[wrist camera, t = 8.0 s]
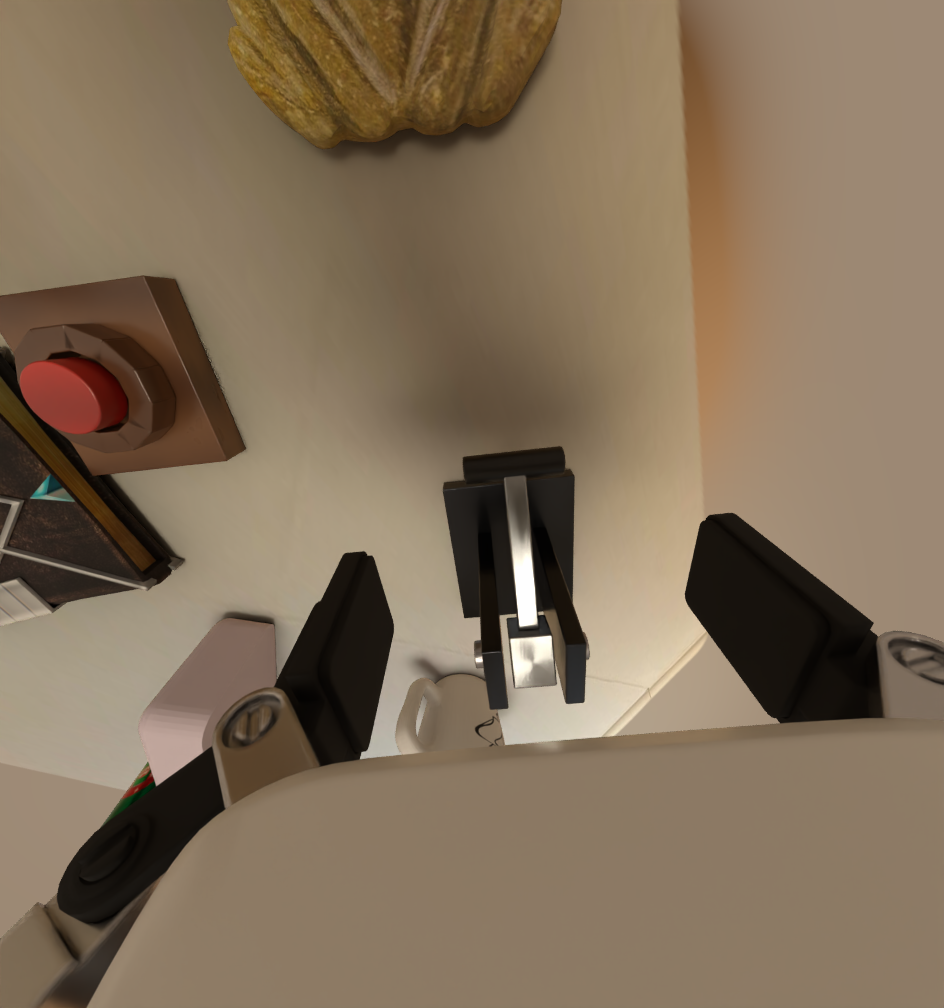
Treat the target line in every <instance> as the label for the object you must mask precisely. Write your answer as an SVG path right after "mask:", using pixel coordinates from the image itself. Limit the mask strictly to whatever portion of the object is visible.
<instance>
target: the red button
mask: <svg viewBox="0 0 944 1008" xmlns="http://www.w3.org/2000/svg"><path fill="white" fill-rule="evenodd" d="M20 388H21V392H22V394H23V397H24V399H25V400H26V402H27V404H28V405H29V406H30V408H31V409H32V410H33V411H34V412H35V413H36V414H37V415H38V416H39V417H40V418H41V419H42V420H43V421H45V422H46V423H48V424H49V425H51V426H53V427H54V428H56V429H58V430H61V431H63V432H67V433H71V434H87V433H91V432H94V431H97V430H100V429H103V428H106V427H110V426H113V425H116V424H118V423H120V422H121V421H122V420H123V419H124V417H125V416H126V414H127V410H128V401H127V397H126V394H125V392H124V390H123V388H122V386H121V385H120V383H119V382H118V380H117V379H116V378H115V377H114V376H113V375H112V374H111V373H110V372H109V371H107V370H106V369H105V368H103V367H102V366H101V365H99V364H97V363H95V362H93V361H90V360H87V359H84V358H79V357H68V358H59V359H51V360H42V361H35V362H32V363H30V364H28V365H27V366H26V367H25V368H24V369H23V370H22V372H21V375H20Z"/></svg>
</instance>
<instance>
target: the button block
mask: <svg viewBox="0 0 944 1008" xmlns="http://www.w3.org/2000/svg"><path fill="white" fill-rule="evenodd" d="M0 333H1V334H2V336H3V337H4V339H5V341H6V342H7V344H8V345H9V347H10V348H11V350H12V351H13V353H14V357H15V365H16V372H17V380H18V384H19V386H20V375H21V372H22V370H23V369H24V368H25V367H26V366H27V365H28V364H30V363H32V362H35V361H42V360H51V359H59V358H68V357H79V358H84V359H87V360H90V361H93V362H95V363H97V364H99V365H101V366H102V367H103V368H105V369H106V370H107V371H109V372H110V373H111V374H112V375H113V376H114V377H115V378H116V379H117V380H118V382H119V383H120V385H121V386H122V388H123V390H124V392H125V394H126V397H127V401H128V410H127V414H126V416H125V417H124V419H123V420H122V421H121V422H120V423H118V424H116V425H113V426H110V427H106V428H103V429H100V430H97V431H94V432H91V433H87V434H71V433H67V432H63V431H61V430H58V429H56V428H54V427H53V426H51V425H50V426H51V427H53V428H54V429H55V430H57V431H58V432H59V433H61V434H62V435H63V436H64V437H66V438H67V439H68V440H70V441H71V443H72V444H73V446H74V448H75V449H76V451H77V452H78V454H79V455H80V457H81V458H82V460H83V462H84V463H85V465H86V466H87V468H88V469H89V471H90V472H91V474H92V475H93V476H97V475H106V474H115V473H123V472H132V471H141V470H150V469H159V468H168V467H176V466H185V465H194V464H203V463H212V462H221V461H227V460H229V459H231V458H232V457H234V456H236V455H237V454H239V453H240V452H242V451H244V450H245V446H244V444H243V442H242V439H241V437H240V434H239V432H238V430H237V427H236V425H235V423H234V420H233V418H232V415H231V413H230V411H229V408H228V406H227V403H226V401H225V399H224V396H223V394H222V392H221V389H220V387H219V384H218V382H217V380H216V377H215V375H214V372H213V370H212V368H211V365H210V363H209V361H208V358H207V356H206V353H205V351H204V349H203V346H202V344H201V342H200V339H199V337H198V334H197V332H196V330H195V327H194V325H193V322H192V320H191V318H190V315H189V313H188V311H187V308H186V306H185V303H184V301H183V299H182V296H181V294H180V292H179V289H178V287H177V284H176V282H175V280H174V279H169V278H160V277H151V276H137V277H130V278H123V279H116V280H109V281H102V282H95V283H87V284H80V285H73V286H66V287H59V288H52V289H45V290H38V291H31V292H24V293H17V294H9V295H2V296H0Z"/></svg>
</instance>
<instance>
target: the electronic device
mask: <svg viewBox="0 0 944 1008" xmlns="http://www.w3.org/2000/svg"><path fill="white" fill-rule="evenodd" d="M275 683H276V652H275V628H274V625H273V624H267V623H260V622H254V621H247V620H241V619H234V618H227V619H223V620H221V621H219V622H218V623H216V624H215V625H214V626H213V627H212V629H211V630H210V631H209V632H208V633H207V635H206V636H205V637H204V638H203V639H202V641H201V642H200V643H199V644H198V646H197V647H196V648H195V649H194V650H193V652H192V653H191V654H190V655H189V657H188V658H187V659H186V660H185V661H184V663H183V664H182V665H181V666H180V668H179V669H178V670H177V671H176V672H175V674H174V675H173V676H172V677H171V678H170V680H169V681H168V682H167V683H166V685H165V686H164V687H163V688H162V689H161V691H160V692H159V693H158V694H157V696H156V697H155V698H154V699H153V700H152V702H151V703H150V704H149V705H148V706H147V708H146V709H145V711H144V712H143V714H142V716H141V718H140V721H139V726H138V731H139V735H140V738H141V741H142V744H143V747H144V750H145V753H146V756H147V759H148V762H149V765H150V768H151V771H152V774H153V777H154V780H155V783H156V786H157V785H159V784H160V783H162V782H163V781H164V780H166V779H167V778H168V777H170V776H171V775H173V774H174V773H175V772H177V771H178V770H179V769H181V768H182V767H184V766H185V765H186V764H188V763H189V762H190V761H192V760H193V759H195V758H196V757H197V756H199V755H200V754H201V753H203V752H204V751H206V750H207V749H208V748H210V747H211V746H212V735H213V732H214V730H215V727H216V725H217V723H218V722H219V720H220V719H221V717H222V716H223V714H224V713H225V712H226V711H227V710H228V709H229V708H230V707H231V706H232V705H233V704H234V703H235V702H237V701H238V700H239V699H241V698H242V697H243V696H245V695H247V694H249V693H251V692H253V691H255V690H258V689H262V688H265V687H274V685H275Z"/></svg>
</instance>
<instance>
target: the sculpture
mask: <svg viewBox="0 0 944 1008" xmlns="http://www.w3.org/2000/svg"><path fill="white" fill-rule="evenodd" d="M227 2H228V4H229V7H230V10H231V12H232V14H233V16H234V18H235V20H236V23H237V25H238V26H234V27H232V28H231V29H230V30H229V39H228V46H229V49H230V52H231V54H232V57H233V59H234V61H235V63H236V65H237V67H238V69H239V71H240V72H241V74H242V75H243V77H244V78H245V79H246V81H247V82H248V84H249V85H250V86H251V88H252V89H253V90H254V91H255V93H256V94H257V95H258V97H259V98H260V99H261V100H262V101H263V102H264V103H265V104H266V106H267V107H268V108H269V109H270V110H271V111H272V112H273V113H274V114H275V115H277V116H278V117H279V118H280V119H281V120H282V121H283V122H284V123H285V124H287V125H288V126H289V127H291V128H292V129H293V130H295V131H296V132H298V133H299V134H301V135H302V136H303V137H304V138H306V139H307V140H308V141H309V142H310V143H312V144H313V145H315V146H316V147H318V148H321V149H329V148H334V147H335V146H336V145H337V144H338V143H339V142H340V141H342V140H345V139H346V140H350V141H360V142H377V141H381V140H384V139H387V138H389V137H390V136H392V135H393V134H395V133H396V132H397V131H399V130H404V129H409V128H413V129H415V130H417V131H419V132H420V133H422V134H427V135H442V134H447V133H452V132H453V131H454V130H455V129H457V128H458V127H459V126H460V125H462V124H463V123H468V124H470V125H473V126H475V127H483V126H488V125H491V124H493V123H496V122H498V121H499V120H501V119H502V118H503V117H504V116H506V115H507V114H508V113H509V111H510V110H511V109H512V107H513V106H514V104H515V102H516V100H517V99H518V97H519V95H520V93H521V92H522V90H523V88H524V87H525V85H526V83H527V81H528V80H529V78H530V76H531V74H532V73H533V71H534V69H535V67H536V66H537V64H538V62H539V60H540V59H541V57H542V55H543V53H544V51H545V50H546V48H547V46H548V44H549V43H550V41H551V38H552V36H553V34H554V31H555V29H556V25H557V22H558V18H559V16H560V14H561V4H562V0H227Z"/></svg>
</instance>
